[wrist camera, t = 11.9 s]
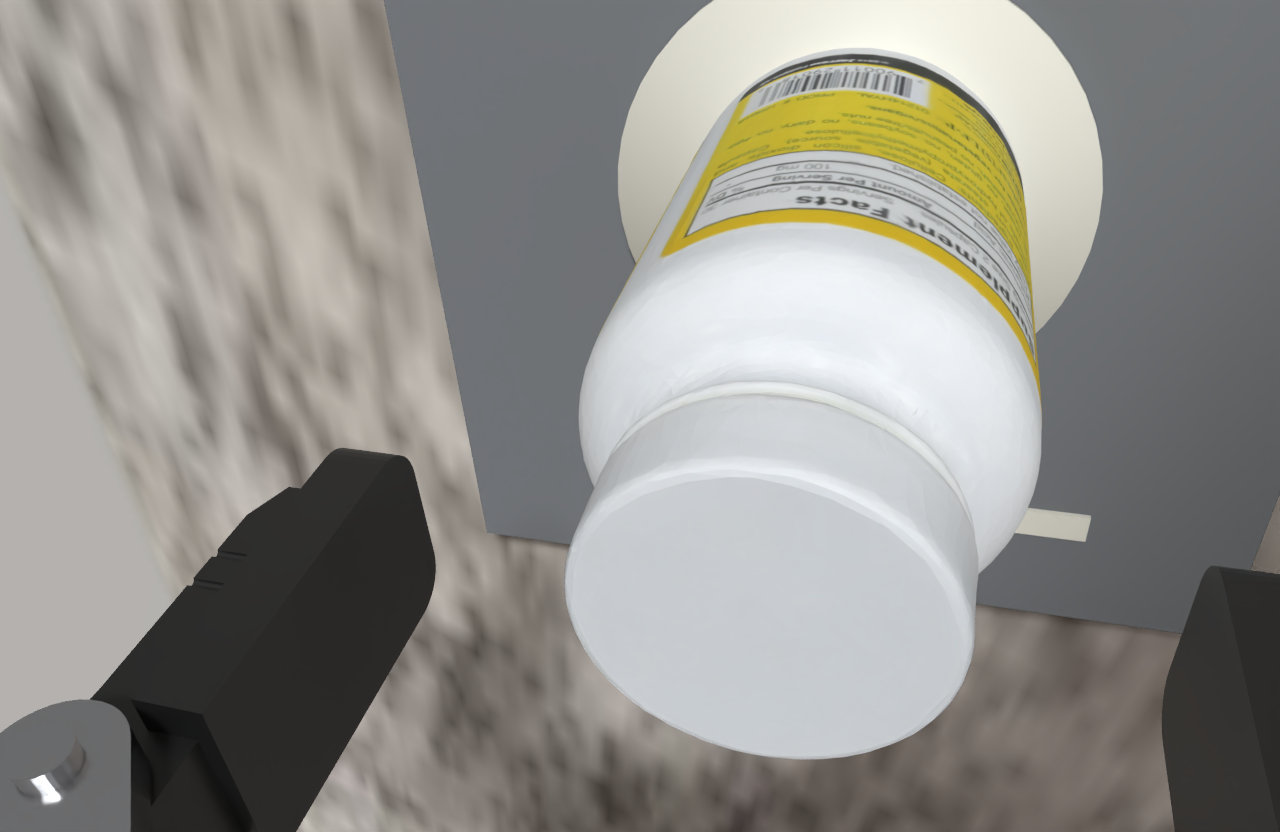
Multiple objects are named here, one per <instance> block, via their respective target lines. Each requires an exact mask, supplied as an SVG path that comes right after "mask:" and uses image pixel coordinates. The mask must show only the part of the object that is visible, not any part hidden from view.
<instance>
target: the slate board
mask: <svg viewBox="0 0 1280 832" xmlns="http://www.w3.org/2000/svg"><path fill="white" fill-rule="evenodd" d="M384 3H385V9H386V14H387V19H388V24H389V29H390V34H391V39H392V45H393V50H394V55H395V60H396V65H397V70H398V76H399V81H400V86H401V91H402V96H403V101H404V106H405V112H406V117H407V122H408V127H409V132H410V137H411V143H412V148H413V153H414V158H415V163H416V168H417V173H418V179H419V184H420V189H421V194H422V199H423V204H424V210H425V215H426V220H427V225H428V230H429V235H430V240H431V246H432V251H433V256H434V261H435V266H436V271H437V277H438V282H439V287H440V292H441V297H442V302H443V307H444V313H445V318H446V323H447V328H448V333H449V338H450V344H451V349H452V354H453V359H454V364H455V369H456V374H457V380H458V385H459V390H460V395H461V400H462V405H463V411H464V416H465V421H466V426H467V431H468V436H469V441H470V447H471V452H472V457H473V462H474V467H475V472H476V478H477V483H478V488H479V493H480V498H481V503H482V508H483V514H484V519H485V524H486V529H487V533H493V534H500V535H507V536H514V537H521V538H528V539H535V540H541V541H548V542H555V543H562V544H569V545H571V542H572V539H573V536H574V534H575V531H576V529H577V527H578V524H579V522H580V520H581V517H582V515H583V513H584V510H585V508H586V506H587V503H588V501H589V499H590V497H591V494H592V492H593V490H594V486H593V484H592V482H591V479H590V476H589V473H588V470H587V467H586V464H585V462H584V458H583V451H582V447H581V441H580V432H579V401H580V391H581V387H582V382H583V377H584V373H585V368H586V366H587V363H588V361H589V358H590V355H591V353H592V350H593V347H594V345H595V343H596V340H597V338H598V336H599V333H600V331H601V329H602V327H603V325H604V323H605V321H606V320H607V318H608V316H609V314H610V312H611V310H612V308H613V306H614V304H615V303H616V301H617V299H618V297H619V295H620V294H621V292H622V290H623V288H624V286H625V284H626V282H627V280H628V279H629V277H630V275H631V273H632V272H633V269H634V267H635V265H636V263H637V262H638V260H639V258H640V256H641V254H642V252H643V251H644V249H645V247H646V245H647V243H648V241H649V239H650V237H651V235H652V234H653V232H654V230H655V228H656V226H657V225H658V223H659V221H660V219H661V217H662V215H663V214H664V212H665V210H666V208H667V206H668V204H669V203H670V201H671V199H672V197H673V195H674V193H675V191H676V189H677V188H678V186H679V184H680V182H681V181H682V179H683V177H684V175H685V173H686V172H687V170H688V168H689V166H690V164H691V162H692V160H693V158H694V156H695V154H696V153H697V151H698V150H699V148H700V146H701V145H702V143H703V141H704V140H705V138H706V136H707V135H708V133H709V131H710V130H711V128H712V127H713V125H714V124H715V122H716V121H717V119H718V118H719V116H720V115H721V114H722V113H723V111H724V110H725V109H726V108H727V107H728V105H729V104H730V103H731V102H732V101H733V100H734V99H735V98H736V97H737V96H738V95H739V94H740V93H741V92H742V91H743V90H745V89H746V88H747V87H748V86H749V85H751V84H752V83H753V82H754V81H756V80H757V79H758V78H760V77H762V76H763V75H765V74H766V73H768V72H769V71H771V70H773V69H775V68H777V67H779V66H781V65H783V64H785V63H787V62H789V61H792V60H794V59H797V58H800V57H803V56H806V55H809V54H812V53H817V52H822V51H827V50H833V49H843V48H875V49H883V50H888V51H894V52H899V53H902V54H906V55H910V56H913V57H916V58H919V59H922V60H924V61H926V62H929V63H931V64H933V65H935V66H937V67H939V68H941V69H943V70H945V71H946V72H948V73H949V74H951V75H952V76H954V77H955V78H957V79H958V80H959V81H961V82H962V83H963V84H964V85H965V86H967V87H968V88H969V89H970V90H971V91H972V92H974V93H975V94H976V95H977V96H978V97H979V98H980V99H981V100H982V101H983V102H984V103H985V104H986V106H987V107H988V108H989V109H990V110H991V112H992V113H993V114H994V116H995V117H996V119H997V120H998V122H999V123H1000V124H1001V126H1002V128H1003V130H1004V131H1005V133H1006V135H1007V138H1008V140H1009V142H1010V144H1011V147H1012V149H1013V151H1014V154H1015V157H1016V159H1017V162H1018V166H1019V170H1020V174H1021V179H1022V185H1023V191H1024V201H1025V206H1026V218H1027V230H1028V242H1029V256H1030V267H1031V281H1032V295H1033V309H1034V321H1035V335H1036V348H1037V359H1038V369H1039V381H1040V394H1041V407H1042V431H1041V460H1040V467H1039V474H1038V478H1037V482H1036V486H1035V490H1034V493H1033V496H1032V499H1031V501H1030V504H1029V506H1028V509H1027V511H1026V514H1025V516H1024V518H1023V519H1022V521H1021V523H1020V525H1019V526H1018V528H1017V530H1016V531H1015V533H1014V535H1013V536H1012V538H1011V540H1010V541H1009V543H1008V544H1007V545H1006V546H1005V548H1004V549H1003V550H1002V551H1001V552H1000V553H999V555H998V556H997V557H996V558H995V559H994V560H993V561H992V563H990V564H989V565H988V566H987V567H986V568H985V569H984V570H983V571H982V572H980V573H979V574H978V583H977V592H976V604H981V605H988V606H995V607H1002V608H1009V609H1015V610H1022V611H1029V612H1036V613H1043V614H1050V615H1057V616H1064V617H1070V618H1077V619H1084V620H1091V621H1098V622H1105V623H1112V624H1118V625H1125V626H1132V627H1139V628H1146V629H1153V630H1160V631H1167V632H1173V633H1180V634H1182V633H1183V630H1184V627H1185V624H1186V622H1187V619H1188V616H1189V613H1190V610H1191V607H1192V604H1193V602H1194V599H1195V596H1196V593H1197V590H1198V587H1199V585H1200V582H1201V579H1202V577H1203V575H1204V573H1205V571H1206V570H1207V569H1208V568H1209V567H1210V566H1221V567H1228V568H1236V569H1244V570H1250V569H1251V567H1252V564H1253V562H1254V559H1255V556H1256V554H1257V551H1258V549H1259V546H1260V543H1261V541H1262V538H1263V536H1264V533H1265V531H1266V528H1267V525H1268V523H1269V520H1270V518H1271V515H1272V512H1273V510H1274V507H1275V505H1276V502H1277V499H1278V497H1279V494H1280V0H384Z"/></svg>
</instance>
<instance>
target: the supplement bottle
mask: <svg viewBox="0 0 1280 832" xmlns="http://www.w3.org/2000/svg"><path fill="white" fill-rule="evenodd" d="M1041 431H1042V407H1041V394H1040V381H1039V369H1038V359H1037V348H1036V335H1035V321H1034V309H1033V295H1032V281H1031V267H1030V256H1029V242H1028V230H1027V218H1026V206H1025V201H1024V191H1023V185H1022V179H1021V174H1020V170H1019V166H1018V162H1017V159H1016V157H1015V154H1014V151H1013V149H1012V147H1011V144H1010V142H1009V140H1008V138H1007V135H1006V133H1005V131H1004V130H1003V128H1002V126H1001V124H1000V123H999V122H998V120H997V119H996V117H995V116H994V114H993V113H992V112H991V110H990V109H989V108H988V107H987V106H986V104H985V103H984V102H983V101H982V100H981V99H980V98H979V97H978V96H977V95H976V94H975V93H974V92H972V91H971V90H970V89H969V88H968V87H967V86H965V85H964V84H963V83H962V82H961V81H959V80H958V79H957V78H955V77H954V76H952V75H951V74H949V73H948V72H946V71H945V70H943V69H941V68H939V67H937V66H935V65H933V64H931V63H929V62H926V61H924V60H922V59H919V58H916V57H913V56H910V55H906V54H902V53H899V52H894V51H888V50H883V49H875V48H843V49H833V50H827V51H822V52H817V53H812V54H809V55H806V56H803V57H800V58H797V59H794V60H792V61H789V62H787V63H785V64H783V65H781V66H779V67H777V68H775V69H773V70H771V71H769V72H768V73H766V74H765V75H763V76H762V77H760V78H758V79H757V80H756V81H754V82H753V83H752V84H751V85H749V86H748V87H747V88H746V89H745V90H743V91H742V92H741V93H740V94H739V95H738V96H737V97H736V98H735V99H734V100H733V101H732V102H731V103H730V104H729V105H728V107H727V108H726V109H725V110H724V111H723V113H722V114H721V115H720V116H719V118H718V119H717V121H716V122H715V124H714V125H713V127H712V128H711V130H710V131H709V133H708V135H707V136H706V138H705V140H704V141H703V143H702V145H701V146H700V148H699V150H698V151H697V153H696V154H695V156H694V158H693V160H692V162H691V164H690V166H689V168H688V170H687V172H686V173H685V175H684V177H683V179H682V181H681V182H680V184H679V186H678V188H677V189H676V191H675V193H674V195H673V197H672V199H671V201H670V203H669V204H668V206H667V208H666V210H665V212H664V214H663V215H662V217H661V219H660V221H659V223H658V225H657V226H656V228H655V230H654V232H653V234H652V235H651V237H650V239H649V241H648V243H647V245H646V247H645V249H644V251H643V252H642V254H641V256H640V258H639V260H638V262H637V263H636V265H635V267H634V269H633V272H632V273H631V275H630V277H629V279H628V280H627V282H626V284H625V286H624V288H623V290H622V292H621V294H620V295H619V297H618V299H617V301H616V303H615V304H614V306H613V308H612V310H611V312H610V314H609V316H608V318H607V320H606V321H605V323H604V325H603V327H602V329H601V331H600V333H599V336H598V338H597V340H596V343H595V345H594V347H593V350H592V353H591V355H590V358H589V361H588V363H587V366H586V368H585V373H584V377H583V382H582V387H581V391H580V401H579V432H580V441H581V447H582V451H583V458H584V462H585V464H586V467H587V470H588V473H589V476H590V479H591V482H592V484H593V486H594V490H593V492H592V494H591V497H590V499H589V501H588V503H587V506H586V508H585V510H584V513H583V515H582V517H581V520H580V522H579V524H578V527H577V529H576V531H575V534H574V536H573V539H572V542H571V545H570V548H569V551H568V554H567V559H566V564H565V576H564V590H565V597H566V603H567V608H568V612H569V616H570V619H571V622H572V625H573V628H574V631H575V633H576V634H577V636H578V638H579V640H580V642H581V644H582V645H583V647H584V649H585V651H586V652H587V654H588V655H589V657H590V658H591V659H592V661H593V662H594V664H595V665H596V667H597V668H598V669H599V670H600V671H601V672H602V673H603V675H604V676H605V677H606V678H607V679H608V680H609V681H610V682H611V683H612V684H613V685H614V686H615V687H616V688H618V689H619V690H620V691H621V692H622V693H623V694H624V695H625V696H626V697H627V698H629V699H630V700H631V701H632V702H633V703H635V704H636V705H638V706H639V707H641V708H642V709H643V710H644V711H646V712H648V713H649V714H651V715H653V716H655V717H656V718H658V719H660V720H662V721H663V722H665V723H667V724H668V725H670V726H672V727H674V728H677V729H679V730H681V731H683V732H685V733H687V734H690V735H692V736H694V737H696V738H699V739H701V740H703V741H706V742H709V743H712V744H715V745H718V746H722V747H725V748H728V749H731V750H735V751H739V752H744V753H749V754H754V755H758V756H766V757H775V758H785V759H829V758H839V757H848V756H853V755H858V754H862V753H867V752H870V751H873V750H876V749H879V748H882V747H885V746H888V745H891V744H894V743H896V742H898V741H901V740H903V739H905V738H907V737H909V736H911V735H913V734H915V733H916V732H918V731H919V730H921V729H922V728H923V727H925V726H926V725H927V724H929V723H930V722H931V721H932V720H934V719H935V718H936V717H937V716H938V715H939V714H940V713H941V712H942V711H943V710H944V709H945V708H946V707H947V706H948V705H949V704H950V703H951V701H952V700H953V699H954V697H955V696H956V694H957V693H958V691H959V689H960V688H961V686H962V684H963V682H964V679H965V676H966V674H967V671H968V668H969V666H970V663H971V660H972V655H973V649H974V643H975V613H976V592H977V583H978V574H979V573H980V572H982V571H983V570H984V569H985V568H986V567H987V566H988V565H989V564H990V563H992V561H993V560H994V559H995V558H996V557H997V556H998V555H999V553H1000V552H1001V551H1002V550H1003V549H1004V548H1005V546H1006V545H1007V544H1008V543H1009V541H1010V540H1011V538H1012V536H1013V535H1014V533H1015V531H1016V530H1017V528H1018V526H1019V525H1020V523H1021V521H1022V519H1023V518H1024V516H1025V514H1026V511H1027V509H1028V506H1029V504H1030V501H1031V499H1032V496H1033V493H1034V490H1035V486H1036V482H1037V478H1038V474H1039V467H1040V460H1041Z"/></svg>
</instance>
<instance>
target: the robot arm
mask: <svg viewBox="0 0 1280 832" xmlns="http://www.w3.org/2000/svg"><path fill="white" fill-rule="evenodd" d="M435 572H436V563H435V555H434V550H433V546H432V542H431V538H430V534H429V530H428V526H427V522H426V518H425V514H424V510H423V506H422V501H421V497H420V493H419V489H418V485H417V481H416V477H415V473H414V470H413V467H412V465H411V463H410V461H409V460H408V459H407V458H405V457H404V456H400V455H393V454H385V453H378V452H370V451H363V450H355V449H347V448H339V449H336V450H334V451H333V452H331V453H330V454H329V455H328V456H327V457H326V458H325V459H324V461H323V462H322V463H321V464H320V466H319V467H318V468H317V469H316V471H315V472H314V473H313V474H312V475H311V477H310V478H309V479H308V480H307V482H306V483H305V484H304V485H303V487H302V488H301V489H299V488H292V487H288V488H287V489H285V490H284V491H282V492H281V493H279V494H278V495H276V496H275V497H273V498H272V499H270V500H269V501H267V502H266V503H264V504H263V505H261V506H260V507H258V508H257V509H255V510H254V511H252V512H251V513H249V514H248V515H247V516H246V517H245V518H244V519H243V520H242V521H241V523H240V524H239V525H238V526H237V527H236V529H235V530H234V531H233V532H232V533H231V534H230V536H229V537H228V538H227V539H226V540H225V542H224V543H223V544H222V545H221V546H220V547H219V549H218V554H217V556H216V557H211V558H210V559H209V560H208V562H207V563H206V564H205V565H204V566H203V568H202V569H201V570H200V571H199V572H198V573H197V575H196V576H195V577H194V583H193V585H192V586H188V585H187V586H186V588H185V589H184V590H183V591H182V592H181V594H180V595H179V596H178V597H177V598H176V599H175V601H174V602H173V603H172V604H171V605H170V607H169V608H168V609H167V610H166V611H165V612H164V614H163V615H162V616H161V617H160V618H159V620H158V621H157V622H156V623H155V624H154V626H153V627H152V628H151V629H150V630H149V631H148V632H147V634H146V635H145V636H144V637H143V638H142V640H141V641H140V642H139V643H138V644H137V646H136V647H135V648H134V649H133V650H132V651H131V653H130V654H129V655H128V656H127V657H126V659H125V660H124V661H123V662H122V663H121V664H120V666H119V667H118V668H117V669H116V670H115V671H114V673H113V674H112V675H111V676H110V677H109V679H108V680H107V681H106V682H105V683H104V684H103V686H102V687H101V688H100V689H99V690H98V691H97V692H96V694H94V696H93V697H92V698H91V699H90V700H72V701H65V702H61V703H58V704H54V705H50V706H48V707H45V708H42V709H40V710H37V711H35V712H34V713H31V714H29V715H27V716H25V717H23V718H22V719H20V720H18V721H17V722H15V723H13V724H12V725H10V726H9V727H8V728H6V729H5V730H4V731H2V732H1V733H0V832H296V831H297V829H298V827H299V826H300V824H301V822H302V821H303V819H304V817H305V815H306V814H307V812H308V810H309V809H310V807H311V805H312V804H313V802H314V800H315V798H316V797H317V795H318V793H319V792H320V790H321V788H322V786H323V785H324V783H325V781H326V780H327V778H328V776H329V775H330V773H331V771H332V769H333V768H334V766H335V764H336V763H337V761H338V759H339V757H340V756H341V754H342V752H343V751H344V749H345V747H346V746H347V744H348V742H349V740H350V739H351V737H352V735H353V734H354V732H355V730H356V728H357V727H358V725H359V723H360V722H361V720H362V718H363V717H364V715H365V713H366V711H367V710H368V708H369V706H370V705H371V703H372V701H373V699H374V698H375V696H376V694H377V693H378V691H379V689H380V688H381V686H382V684H383V682H384V681H385V679H386V677H387V676H388V674H389V672H390V670H391V669H392V667H393V665H394V664H395V662H396V660H397V659H398V657H399V655H400V653H401V652H402V650H403V648H404V647H405V645H406V643H407V641H408V640H409V638H410V636H411V635H412V633H413V631H414V630H415V628H416V626H417V624H418V623H419V621H420V619H421V618H422V616H423V614H424V612H425V610H426V608H427V606H428V604H429V601H430V598H431V595H432V591H433V587H434V581H435ZM1162 737H1163V746H1164V754H1165V761H1166V768H1167V776H1168V783H1169V790H1170V798H1171V805H1172V812H1173V820H1174V827H1175V832H1280V574H1274V573H1266V572H1259V571H1251V570H1244V569H1236V568H1228V567H1221V566H1210V567H1209V568H1208V569H1207V570H1206V571H1205V573H1204V575H1203V577H1202V579H1201V582H1200V585H1199V587H1198V590H1197V593H1196V596H1195V599H1194V602H1193V604H1192V607H1191V610H1190V613H1189V616H1188V619H1187V622H1186V624H1185V627H1184V630H1183V633H1182V636H1181V639H1180V641H1179V644H1178V647H1177V650H1176V653H1175V656H1174V659H1173V661H1172V664H1171V667H1170V670H1169V673H1168V676H1167V681H1166V685H1165V691H1164V698H1163V709H1162Z"/></svg>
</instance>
